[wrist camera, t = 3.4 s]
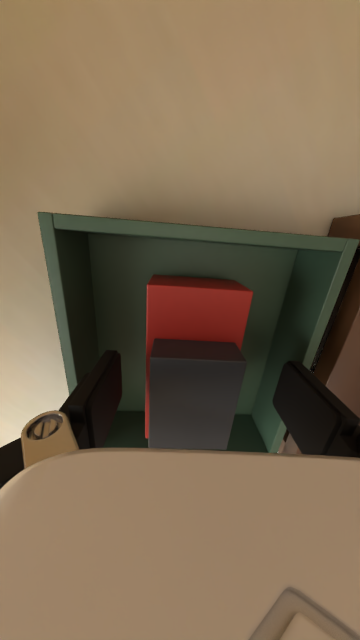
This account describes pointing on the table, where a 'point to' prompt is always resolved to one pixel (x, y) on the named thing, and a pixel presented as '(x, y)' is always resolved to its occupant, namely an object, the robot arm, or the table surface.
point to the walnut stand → (340, 339)
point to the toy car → (193, 360)
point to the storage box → (202, 262)
